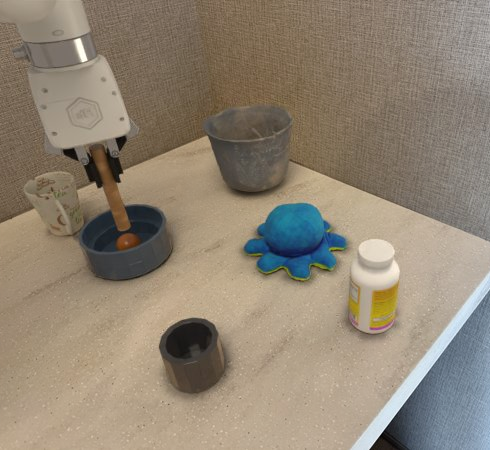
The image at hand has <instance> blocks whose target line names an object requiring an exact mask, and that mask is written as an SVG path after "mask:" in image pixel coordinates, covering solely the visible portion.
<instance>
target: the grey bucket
mask: <svg viewBox="0 0 490 450" xmlns="http://www.w3.org/2000/svg"><path fill="white" fill-rule="evenodd" d="M294 121H295V119H294V117H293V116H292V114H291V113H290V111H289V110H287V109H285V108H284V107H280V106H276V105H270V104H267V105H264V104H259V105H258V104H257V105H256V104H254V105H253V104H251V105H248V106H242V105H240V106H233V107H229V108H226V109H222V110H221V111H220V112H218V113H217V114H211V115H210V116H209V117H207V118H206V119H205V120H204V121H203V124H202V127H203V130H204V133H205V134H206V136H207V138H208V140H209V143H210V146H211V149H212V153H213V155H214V159H215V161H216V164H217V167H218V169H219V171H220V175H221V177H222V180H223V181H224V182H225V184H227V185H228V186H229V187H230V188H233V189H234V190H237V191H241V192H249V193H250V192H252V193H253V192H263V191H266V190H271V189H272V188H275V187H277V186H278V185H279V184H281V182H282V181H283V180H284V179H285V177H286V175H287V174H288V170H289V165H290V156H291V137H292V135H291V134H292V129H293V124H294Z"/></svg>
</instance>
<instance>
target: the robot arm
mask: <svg viewBox="0 0 490 450" xmlns="http://www.w3.org/2000/svg"><path fill="white" fill-rule="evenodd" d="M0 23H8V24H9V23H10V24H15V25H16V28H17V30H18V34H19V35H20V38H21V40H22V42H21V43H20V45H18V46H17V47H11V51H12V52H11V53H12V54H13V56H14V59H15V61H19V60H23V61H27V62H28V63H30V64H31V65H30V66H29V67H27V77H28V83H29V86H30V90H31V94H32V98H33V101H34V104H35V107H36V109H37V112H38V115H39V118H40V121H41V123H42V127H43V129H44V132H45V134H44V146H43V147H44V152H45V154H48V155H55V156H65V157H67V158H70V159H72V160H74V161H76V162H79V164H80V165H82V166H83V168H84V170H85V174H86V176H87V179H88V181H89V183H92V182H94V183H95V185H96V188H97V189H102V188H103V186H102V183H101V180H100V177H99V175H98V172H97V169H96V166H95V164H94V161H93V160H92V157H91V154H90V152H87V150H86V146H89V145H94V144H98V143H101V142H105V143H106V148H105V151H106V154H107V158H108V161H109V164H110V167H111V170H112V173H113V175H114V178H115V181H116V183H117V184H121V183H122V181H121V180H122V179H121V176H120V175H124V170H123V167H122V164H121V161H120V154H121V153H120V152H121V151H122V150H123V148H124V146H125V145H126V143H127V141H129V140H130V139H132V138H133V137H136V135H138V134H139V133H140V128H139V126H138V125H137V124H136V122H135V121H134V120H133V119H132V118H131V116H130V115H129V114H128V111H127V108H126V104H125V102H124V99H123V96H122V93H121V90H120V88H119V84H118V82H117V79H116V77H115V74H114V72H113V70H112V68H111V66H110V64H109V62H108V59H107V58H106V57H105V56H104V55H102V54H99V53H98V50H97V46H96V43H95V40H94V37H93V34H92V31H91V27H90V24H89V21H88V17H87V14H86V11H85V7H84V3H83V1H82V0H0Z"/></svg>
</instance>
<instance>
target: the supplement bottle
mask: <svg viewBox="0 0 490 450" xmlns="http://www.w3.org/2000/svg"><path fill="white" fill-rule="evenodd" d="M400 276H401V270H400V266H399V265H398V262H397V261H396V260H395V247H394V246H393V245H392V244H391V243H390V242H388V241H387V240H384V239H379V238H370V239H366V240H364V241H362V242H361V243H360V244H359V245H358V248H357V256H356V257H355V258H354V259H353V260H352V262H351V263H350V267H349V281H348V282H349V283H348V285H349V286H348V318H349V322H350V323H351V324H352V326H353V327H354V328H355V329H357V330H359V331H360V332H363V333H365V334H370V335H371V334H372V335H373V334H381V333H384V332H386V331H388V330H389V329H390V328H391V327H392V326H393V324H394V322H395V318H396V311H397V304H398V303H397V301H398V296H399V295H398V294H399V285H400V279H401V278H400Z"/></svg>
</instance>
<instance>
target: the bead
mask: <svg viewBox="0 0 490 450" xmlns="http://www.w3.org/2000/svg"><path fill="white" fill-rule="evenodd" d="M140 244H141V241H140V239H139V237H138V236H137V235H135V234H133V233H125V234H123V235H121V236H120V237H119V238H118V240H117V243H116V246H117V249H118V251H124V250H127V249H130V248H133V247H136V246H139V245H140Z"/></svg>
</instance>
